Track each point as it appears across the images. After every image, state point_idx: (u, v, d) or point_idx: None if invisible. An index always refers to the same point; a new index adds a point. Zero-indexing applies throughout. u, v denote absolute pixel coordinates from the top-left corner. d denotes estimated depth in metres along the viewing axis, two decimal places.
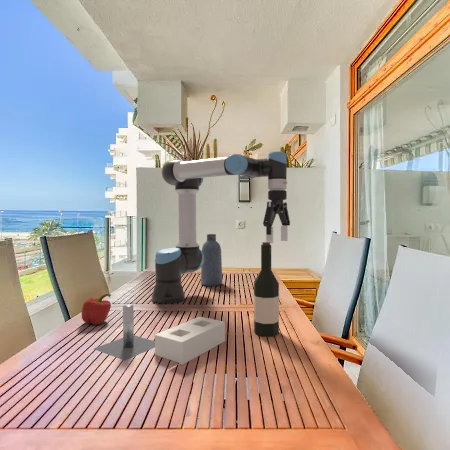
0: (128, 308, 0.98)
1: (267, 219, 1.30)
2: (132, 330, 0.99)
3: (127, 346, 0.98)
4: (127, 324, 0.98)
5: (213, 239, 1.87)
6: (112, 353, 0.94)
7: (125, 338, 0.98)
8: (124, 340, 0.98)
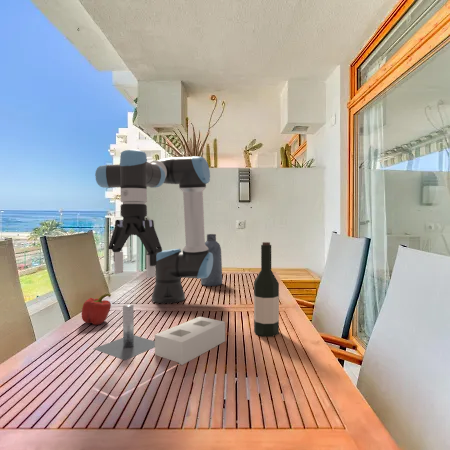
0: (128, 308, 0.98)
1: None
2: (132, 330, 0.99)
3: (127, 346, 0.98)
4: (127, 324, 0.98)
5: (213, 239, 1.87)
6: (112, 353, 0.94)
7: (125, 338, 0.98)
8: (124, 340, 0.98)
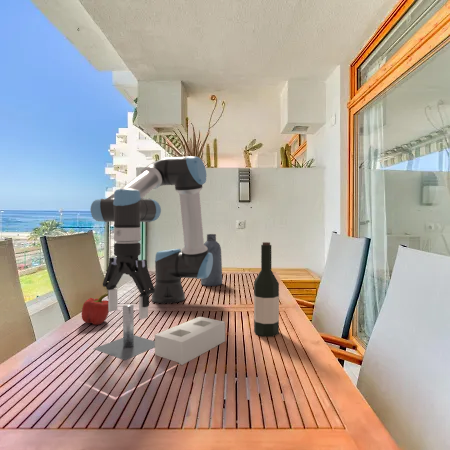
0: (128, 308, 0.98)
1: None
2: (132, 330, 0.99)
3: (127, 346, 0.98)
4: (127, 324, 0.98)
5: (213, 239, 1.87)
6: (112, 353, 0.94)
7: (125, 339, 0.98)
8: (124, 340, 0.98)
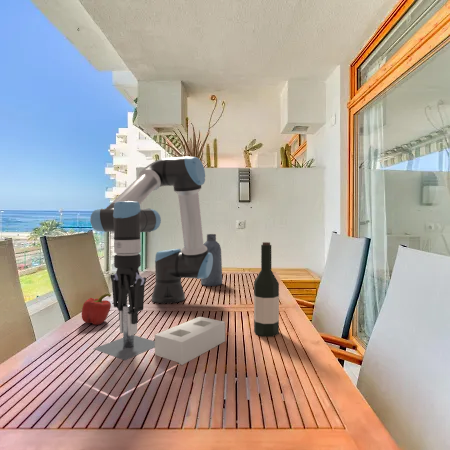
0: (128, 308, 0.98)
1: None
2: None
3: (127, 346, 0.98)
4: (127, 324, 0.98)
5: (213, 239, 1.87)
6: (112, 353, 0.94)
7: (125, 338, 0.98)
8: (124, 340, 0.98)
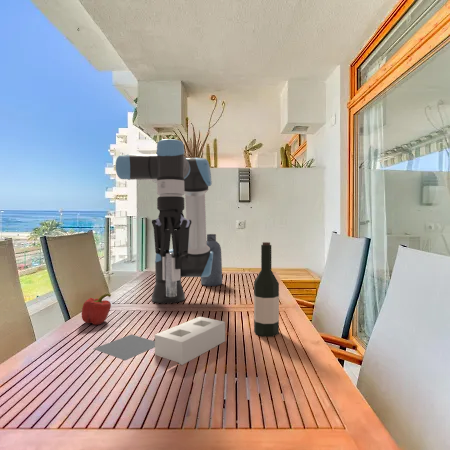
0: (171, 255, 0.93)
1: None
2: None
3: (170, 295, 0.93)
4: (170, 272, 0.93)
5: (213, 239, 1.87)
6: (112, 353, 0.94)
7: (169, 287, 0.93)
8: (167, 289, 0.93)
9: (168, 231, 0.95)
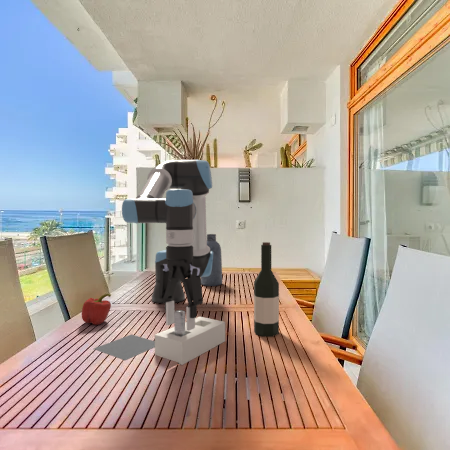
0: (180, 314, 0.93)
1: None
2: None
3: None
4: (179, 331, 0.93)
5: (213, 239, 1.87)
6: (112, 353, 0.94)
7: None
8: None
9: (175, 279, 0.95)
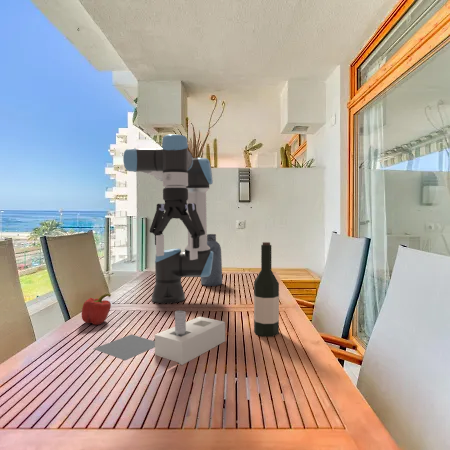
0: (181, 314, 0.93)
1: None
2: None
3: None
4: (180, 331, 0.93)
5: (213, 239, 1.87)
6: (112, 353, 0.94)
7: None
8: None
9: (168, 218, 1.03)
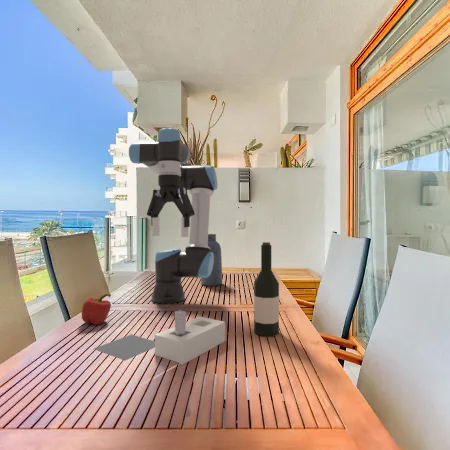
0: (181, 314, 0.93)
1: None
2: None
3: None
4: (180, 331, 0.93)
5: (213, 239, 1.87)
6: (112, 353, 0.94)
7: None
8: None
9: (163, 202, 1.17)
